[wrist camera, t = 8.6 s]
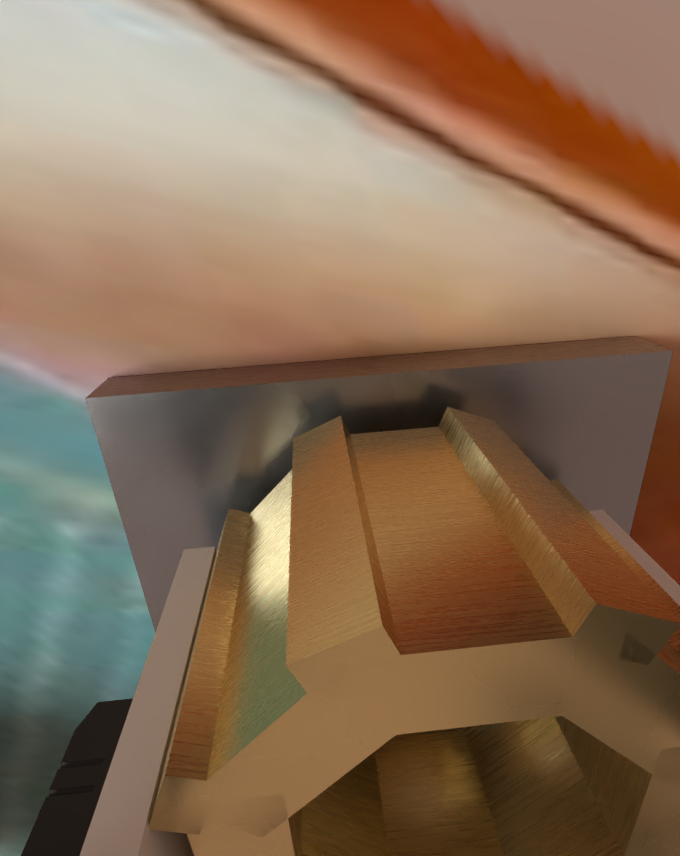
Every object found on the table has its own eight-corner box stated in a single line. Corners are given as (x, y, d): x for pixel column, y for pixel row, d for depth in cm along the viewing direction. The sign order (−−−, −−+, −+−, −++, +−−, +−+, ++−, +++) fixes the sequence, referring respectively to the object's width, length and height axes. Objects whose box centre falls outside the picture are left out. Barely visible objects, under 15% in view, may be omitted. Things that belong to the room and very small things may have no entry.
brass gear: (193, 428, 11) (79, 656, 5) (588, 394, 11) (873, 574, 6) (248, 701, 14) (217, 1004, 9) (542, 669, 15) (686, 939, 9)
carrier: (108, 377, 12) (-124, 582, 6) (633, 335, 13) (1000, 474, 6) (245, 878, 23) (222, 1162, 16) (533, 841, 23) (629, 1100, 17)
